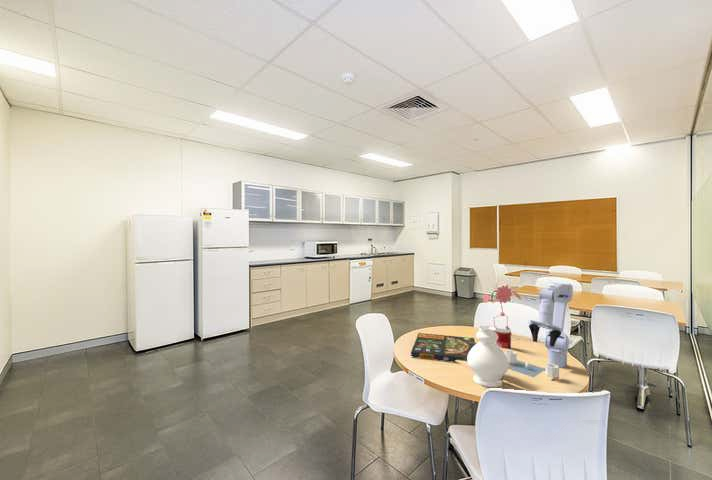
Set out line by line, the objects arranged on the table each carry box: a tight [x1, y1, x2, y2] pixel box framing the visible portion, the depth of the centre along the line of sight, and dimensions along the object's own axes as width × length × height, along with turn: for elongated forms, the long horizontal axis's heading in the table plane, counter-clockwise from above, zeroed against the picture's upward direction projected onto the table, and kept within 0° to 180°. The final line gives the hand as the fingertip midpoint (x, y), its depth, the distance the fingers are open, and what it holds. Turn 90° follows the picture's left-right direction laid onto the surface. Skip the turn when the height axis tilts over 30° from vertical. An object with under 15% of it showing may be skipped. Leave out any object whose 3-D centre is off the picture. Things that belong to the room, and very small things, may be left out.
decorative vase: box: [466, 324, 509, 388], centre depth 140 cm, size 18×18×25 cm
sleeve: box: [544, 362, 560, 382], centre depth 142 cm, size 5×5×6 cm
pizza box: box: [410, 332, 476, 363], centre depth 180 cm, size 35×35×4 cm
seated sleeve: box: [504, 349, 518, 366], centre depth 156 cm, size 5×5×6 cm
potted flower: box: [482, 284, 522, 340], centre depth 201 cm, size 15×26×35 cm, turn 98°
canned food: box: [495, 328, 512, 350], centre depth 181 cm, size 8×8×11 cm
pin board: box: [508, 359, 545, 378], centre depth 152 cm, size 14×19×4 cm
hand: (543, 344), depth 138 cm, fingers open, 7 cm apart
